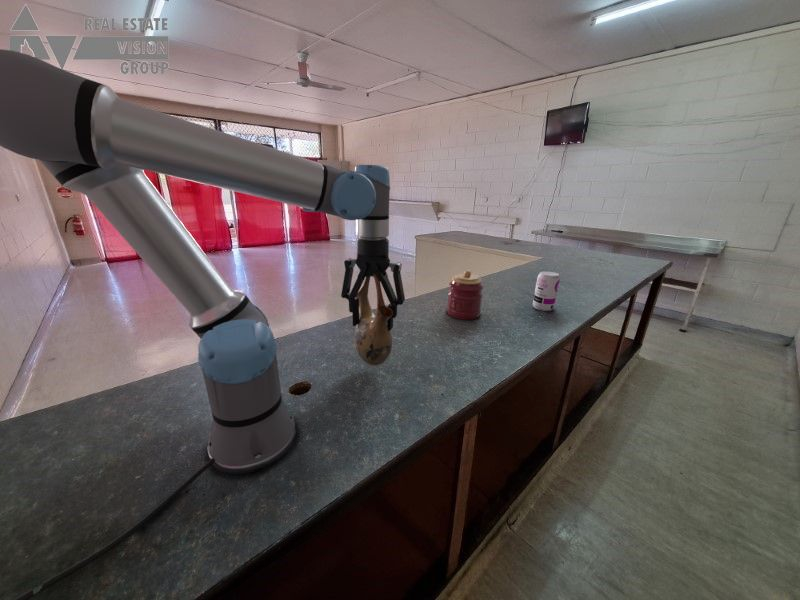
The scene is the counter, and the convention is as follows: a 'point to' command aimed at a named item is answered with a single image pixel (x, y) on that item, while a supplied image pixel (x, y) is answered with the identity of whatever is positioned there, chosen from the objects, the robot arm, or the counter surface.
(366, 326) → the ceramic vessel
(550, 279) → the supplement can
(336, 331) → the counter surface
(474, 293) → the kitchen canister
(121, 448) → the counter surface
